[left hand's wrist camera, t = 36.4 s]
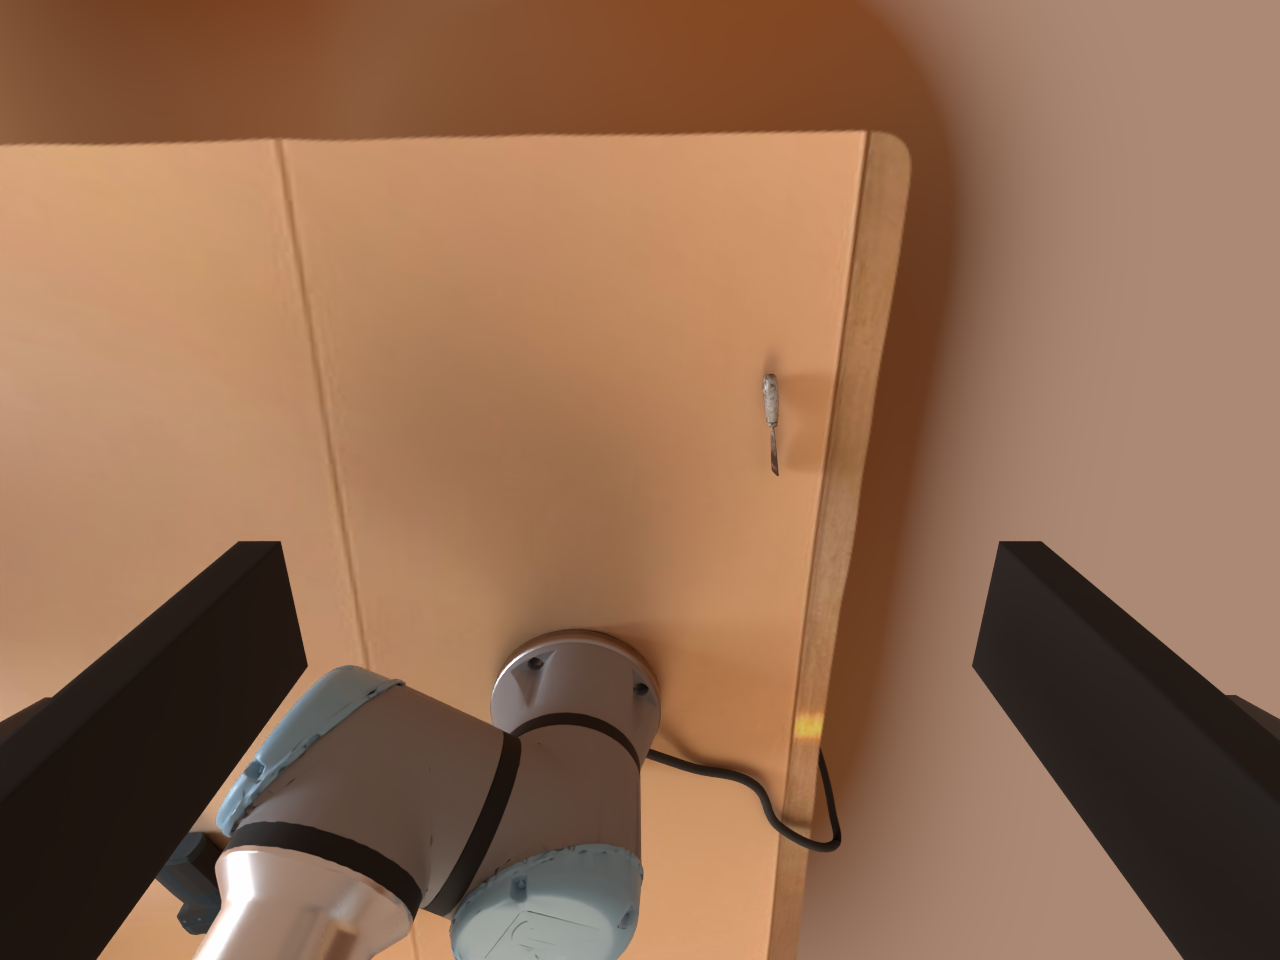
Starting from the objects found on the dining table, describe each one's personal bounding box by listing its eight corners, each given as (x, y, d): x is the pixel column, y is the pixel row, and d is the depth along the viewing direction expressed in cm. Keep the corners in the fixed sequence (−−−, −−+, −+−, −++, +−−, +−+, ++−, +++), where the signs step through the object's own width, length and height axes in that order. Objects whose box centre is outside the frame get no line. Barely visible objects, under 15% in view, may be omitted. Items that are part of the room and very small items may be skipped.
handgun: (321, 809, 68) (362, 892, 73) (157, 836, 69) (207, 916, 74) (307, 837, 65) (351, 921, 70) (136, 865, 66) (189, 946, 71)
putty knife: (774, 371, 52) (778, 376, 50) (781, 469, 55) (785, 477, 53) (760, 373, 52) (764, 378, 50) (768, 470, 55) (772, 478, 53)
